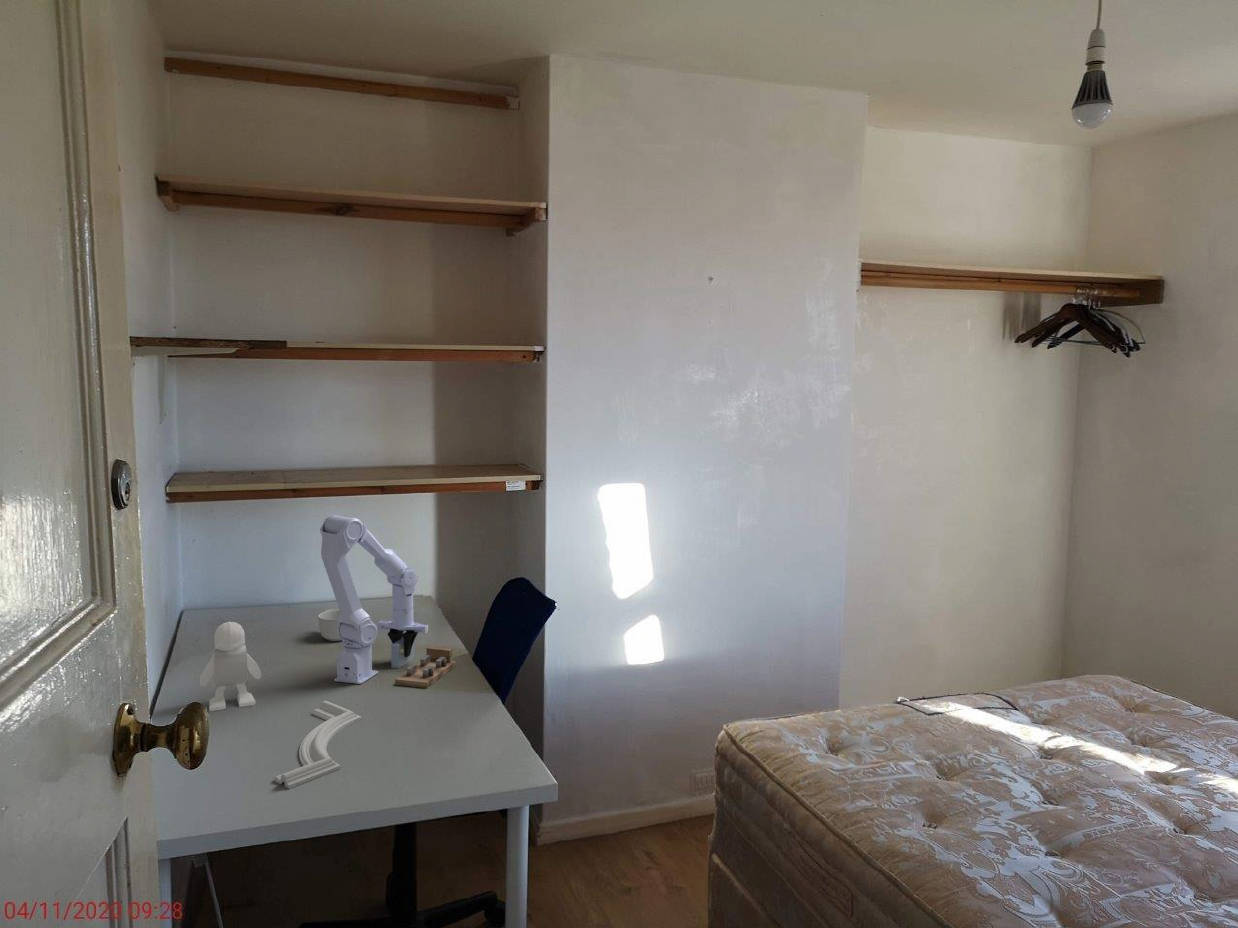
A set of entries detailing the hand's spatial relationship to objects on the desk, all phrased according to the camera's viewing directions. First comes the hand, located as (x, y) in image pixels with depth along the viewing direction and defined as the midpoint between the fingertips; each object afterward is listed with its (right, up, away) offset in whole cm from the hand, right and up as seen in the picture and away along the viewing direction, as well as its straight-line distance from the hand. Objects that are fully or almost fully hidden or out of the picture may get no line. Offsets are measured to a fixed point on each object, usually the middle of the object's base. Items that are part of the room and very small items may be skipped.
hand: (403, 655), depth 247 cm
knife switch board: (+9, -3, -10) cm, 14 cm away
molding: (-6, -8, -55) cm, 56 cm away
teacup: (-26, 0, +23) cm, 35 cm away
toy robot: (-34, -5, -31) cm, 47 cm away
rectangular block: (0, -2, 0) cm, 2 cm away
